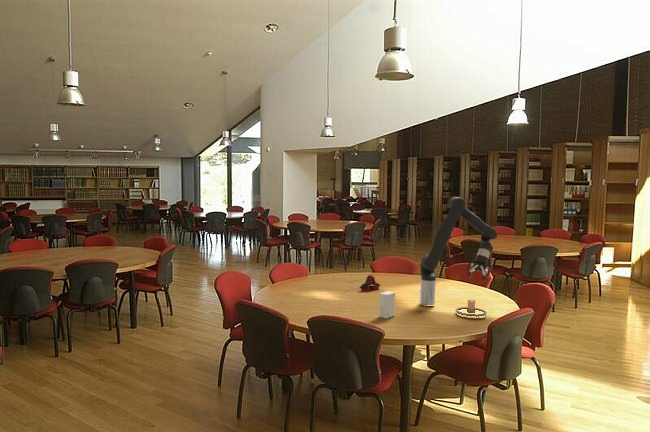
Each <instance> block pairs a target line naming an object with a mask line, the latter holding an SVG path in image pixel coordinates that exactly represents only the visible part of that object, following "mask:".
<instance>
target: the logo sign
mask: <svg viewBox="0 0 650 432" xmlns="http://www.w3.org/2000/svg"><path fill="white" fill-rule="evenodd" d="M380 287H382V285H381V284H380V283H378V282H376V280H375V276H373V275H371V274H368V275H367V277H366V279H365V282H364V283H362V284H361V285H360V286H359V289H360V290H361V292H371V291H378V290H379V289H380Z"/></svg>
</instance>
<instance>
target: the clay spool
mask: <svg viewBox="0 0 650 432" xmlns="http://www.w3.org/2000/svg"><path fill="white" fill-rule="evenodd" d="M467 307H468V309H467V312H468V313H475V308H476V300H474V299H467Z"/></svg>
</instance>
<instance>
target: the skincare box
mask: <svg viewBox="0 0 650 432" xmlns="http://www.w3.org/2000/svg"><path fill="white" fill-rule="evenodd" d="M395 298H396V292H393V291H390V290H387V291H384V292H380V293H379V308H378V317H379V318H382V317H383V319H385V318H387V319H390V318H392V316H393V317H394V316H395V302H396V299H395ZM389 317H390V318H389Z"/></svg>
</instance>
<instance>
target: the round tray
mask: <svg viewBox="0 0 650 432" xmlns="http://www.w3.org/2000/svg"><path fill="white" fill-rule="evenodd" d="M461 309H468V306H462V307H457V308H455V311H456V312H457V313H458V314H461V315H466V316H476V317H477V316H478V317H479V316H484V315H486V314H487V313H488V312H487V311H486V310H485V309H481V308H478V307H475V310H479V311H482V312H484V313H483V314H478V315H476V314H466V313H462V312H459V311H458V310H461Z"/></svg>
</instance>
